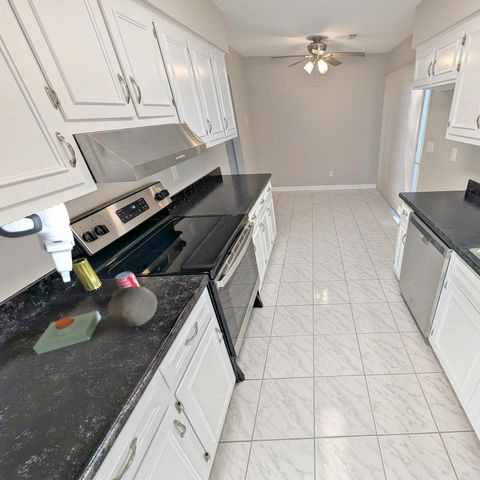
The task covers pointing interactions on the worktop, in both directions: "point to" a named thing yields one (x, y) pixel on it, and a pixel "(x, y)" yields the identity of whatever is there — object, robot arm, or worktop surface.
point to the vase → (86, 274)
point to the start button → (63, 322)
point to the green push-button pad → (68, 333)
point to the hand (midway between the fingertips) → (65, 278)
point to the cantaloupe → (132, 306)
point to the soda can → (126, 280)
